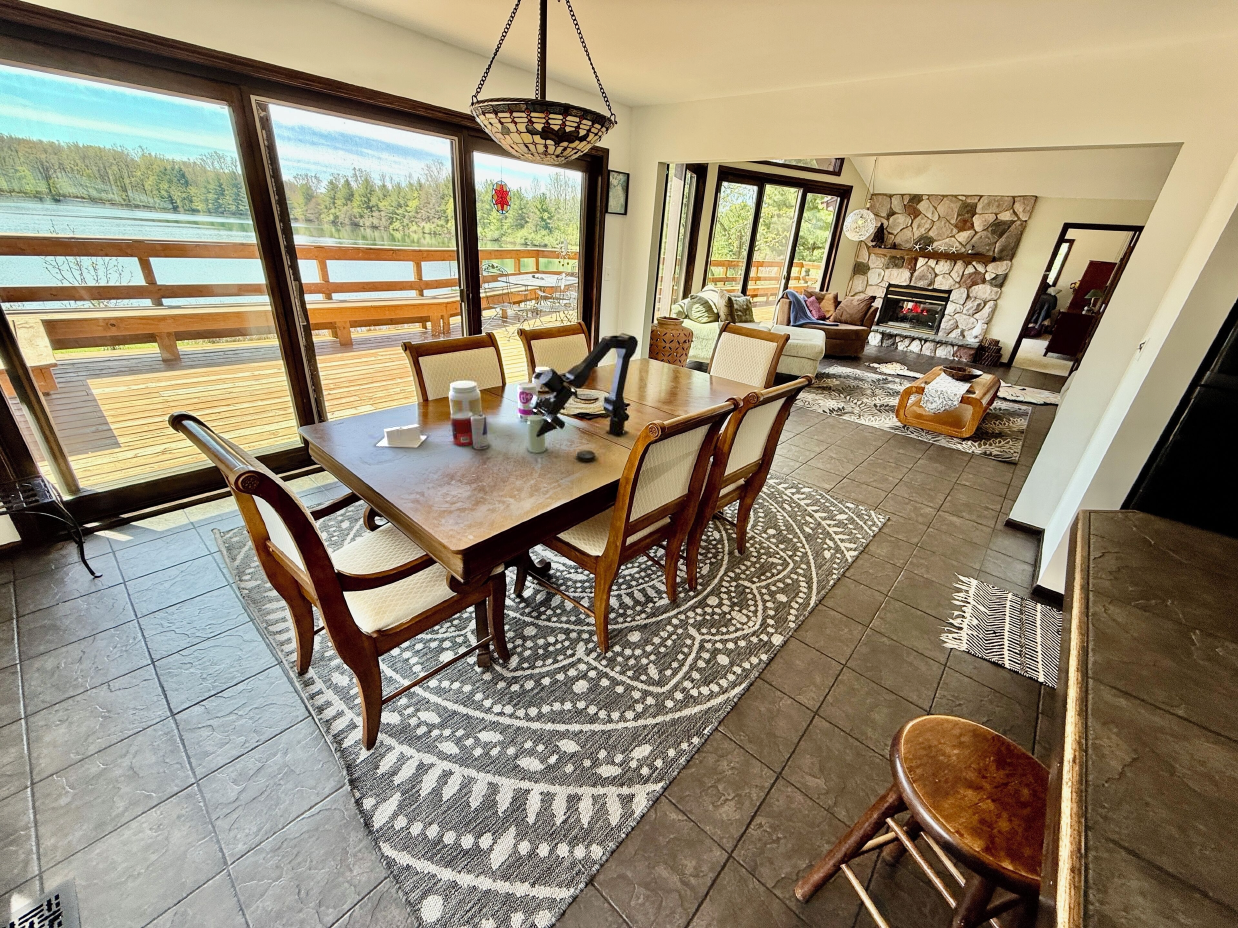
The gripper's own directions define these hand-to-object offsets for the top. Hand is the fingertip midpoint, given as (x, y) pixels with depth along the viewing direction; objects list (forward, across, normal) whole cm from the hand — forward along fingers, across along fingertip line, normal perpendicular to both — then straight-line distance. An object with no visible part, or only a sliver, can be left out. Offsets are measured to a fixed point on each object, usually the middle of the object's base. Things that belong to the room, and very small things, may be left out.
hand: (532, 433), depth 174 cm
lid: (-6, +16, +13) cm, 21 cm away
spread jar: (-21, -66, +32) cm, 76 cm away
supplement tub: (+13, -37, -4) cm, 39 cm away
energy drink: (+16, -12, -6) cm, 21 cm away
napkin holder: (+32, -31, -23) cm, 50 cm away
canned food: (+18, -19, -9) cm, 28 cm away
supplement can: (-4, -31, +14) cm, 34 cm away
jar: (+4, 0, +6) cm, 7 cm away
